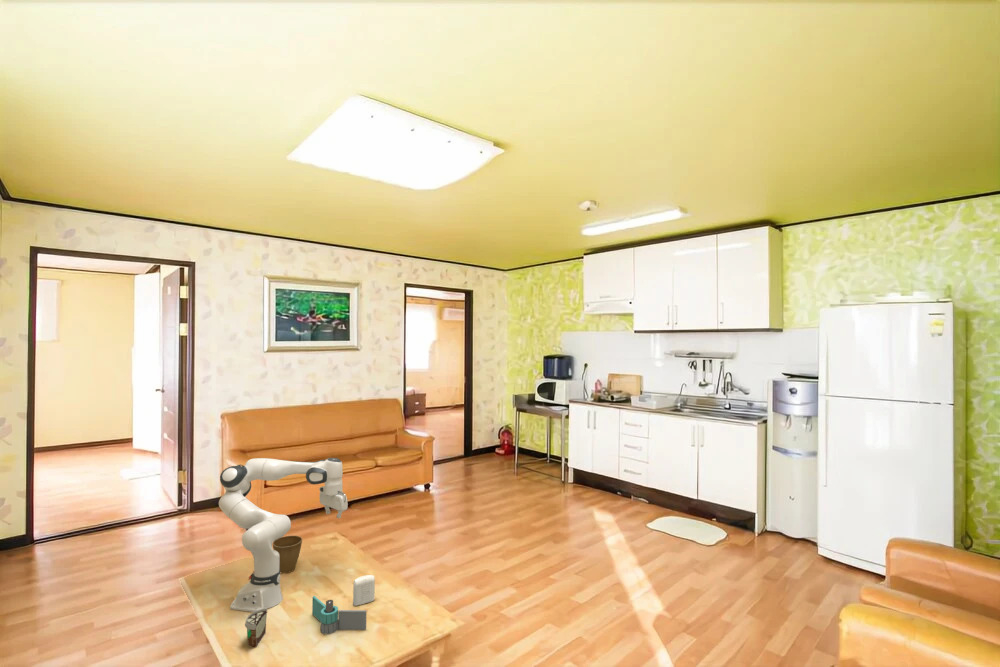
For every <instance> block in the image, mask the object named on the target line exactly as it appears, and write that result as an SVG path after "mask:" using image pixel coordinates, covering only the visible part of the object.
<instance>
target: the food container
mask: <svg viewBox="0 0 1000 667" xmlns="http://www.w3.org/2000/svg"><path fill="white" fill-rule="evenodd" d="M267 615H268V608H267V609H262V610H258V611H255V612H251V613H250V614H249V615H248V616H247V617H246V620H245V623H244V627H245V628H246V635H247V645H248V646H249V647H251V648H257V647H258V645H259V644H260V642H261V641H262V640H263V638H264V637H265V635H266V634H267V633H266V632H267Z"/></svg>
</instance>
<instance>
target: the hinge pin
mask: <svg viewBox="0 0 1000 667" xmlns="http://www.w3.org/2000/svg"><path fill="white" fill-rule="evenodd" d="M325 605H326V613H331V612H333V606H334V599H328V600H326V601H325Z"/></svg>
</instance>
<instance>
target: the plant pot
mask: <svg viewBox="0 0 1000 667" xmlns="http://www.w3.org/2000/svg"><path fill="white" fill-rule="evenodd" d="M302 544H303V537H301V536H299V535H284V536H283V537H281V538H279V539H277V540H275V541H273V543H272V548H273V550H276V551H277V552H278V553H279V555H280V565H279V568H280V574H288V573H291V572H293V571H294V570H295V568H296V566H297V563H298V560H299V557H300V554H301V553H300V552H301V551H302V550H301V549H302Z"/></svg>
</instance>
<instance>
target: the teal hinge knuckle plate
mask: <svg viewBox="0 0 1000 667" xmlns="http://www.w3.org/2000/svg"><path fill="white" fill-rule="evenodd" d="M311 601H312V603H311V604H312V606H311V610H312V615H313V616H314V617H315V618H316V619H317V620H318V621H319V622H320V623H321V622H322V623H323V624H331V623H334V622H336V621H337V620H338V611H339V607H338V606H337V605H333V612H331V613H326V603H324V602H323V601H321V600H320V599H319V598H318V597H316V596H315V595H313V596H312V600H311Z"/></svg>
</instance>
